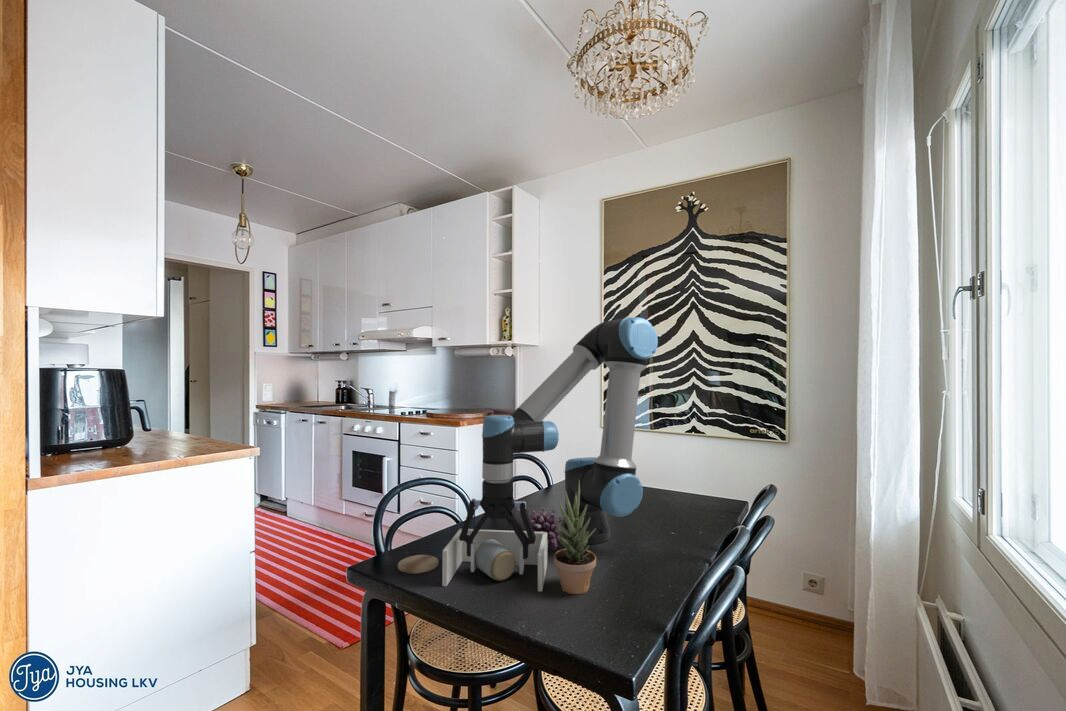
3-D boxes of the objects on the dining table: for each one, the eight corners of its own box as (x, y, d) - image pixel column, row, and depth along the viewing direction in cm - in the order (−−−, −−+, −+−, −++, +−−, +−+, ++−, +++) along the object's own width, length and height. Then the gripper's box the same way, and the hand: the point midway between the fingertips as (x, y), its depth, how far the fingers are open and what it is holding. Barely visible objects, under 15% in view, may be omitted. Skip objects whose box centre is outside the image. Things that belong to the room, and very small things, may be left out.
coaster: (443, 558, 123) (443, 555, 123) (431, 574, 113) (431, 572, 113) (406, 556, 124) (406, 554, 124) (391, 572, 114) (391, 570, 114)
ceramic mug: (491, 586, 106) (492, 552, 107) (473, 573, 113) (474, 541, 113) (528, 575, 113) (529, 543, 113) (510, 563, 119) (510, 533, 120)
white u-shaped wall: (547, 563, 119) (547, 532, 119) (542, 591, 104) (542, 555, 104) (459, 559, 122) (459, 528, 122) (442, 586, 107) (442, 550, 107)
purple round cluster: (574, 552, 127) (574, 507, 127) (544, 565, 118) (544, 517, 119) (543, 540, 135) (543, 499, 135) (513, 552, 127) (513, 508, 127)
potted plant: (566, 602, 100) (566, 486, 100) (547, 583, 108) (547, 476, 109) (606, 593, 104) (605, 481, 104) (584, 575, 112) (584, 472, 113)
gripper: (547, 477, 116) (547, 566, 115) (454, 474, 118) (454, 562, 117) (544, 484, 108) (544, 580, 107) (446, 481, 111) (445, 575, 110)
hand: (497, 570), depth 112 cm, fingers closed on ceramic mug, 11 cm apart
